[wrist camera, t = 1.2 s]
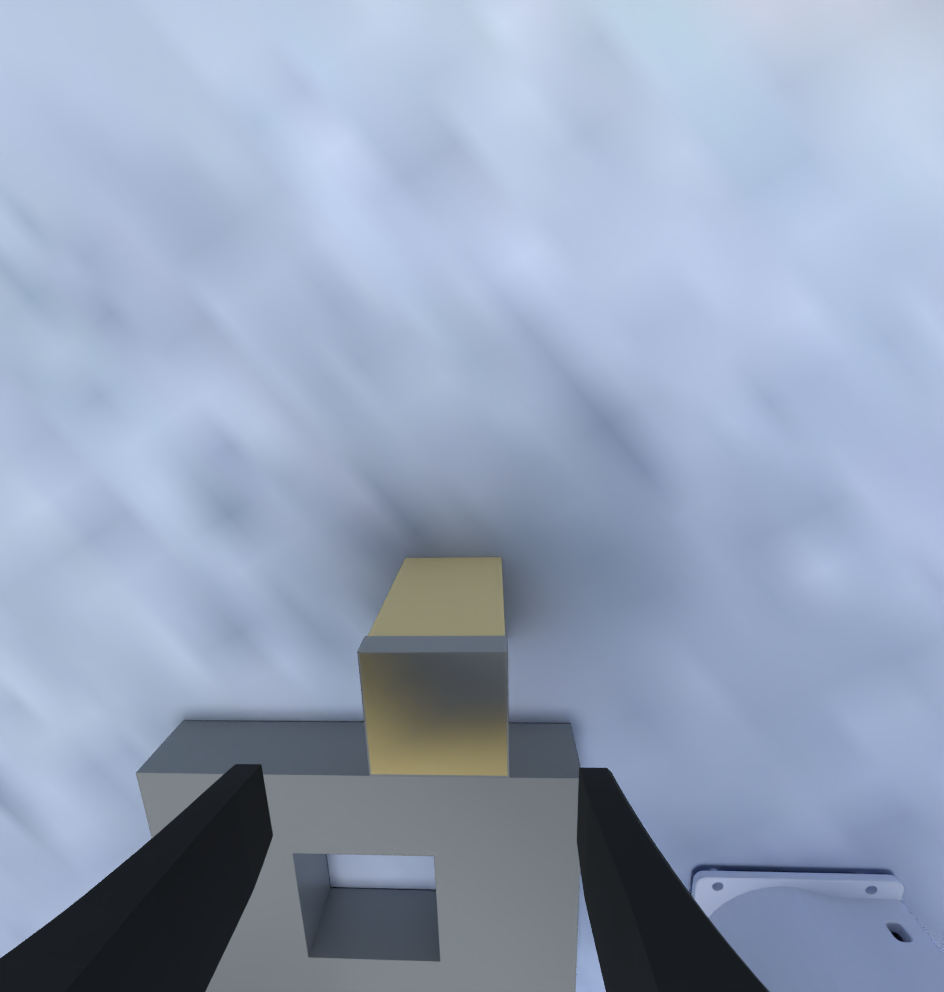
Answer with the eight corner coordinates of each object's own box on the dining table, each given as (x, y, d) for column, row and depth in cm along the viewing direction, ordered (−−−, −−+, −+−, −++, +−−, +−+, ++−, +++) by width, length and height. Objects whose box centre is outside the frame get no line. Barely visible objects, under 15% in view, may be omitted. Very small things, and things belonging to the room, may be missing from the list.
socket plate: (570, 723, 21) (582, 778, 18) (564, 952, 25) (574, 1029, 22) (182, 721, 22) (135, 772, 19) (228, 942, 26) (194, 1014, 23)
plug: (502, 555, 20) (508, 651, 13) (503, 644, 21) (509, 777, 14) (404, 556, 20) (357, 651, 13) (409, 644, 21) (369, 775, 14)
